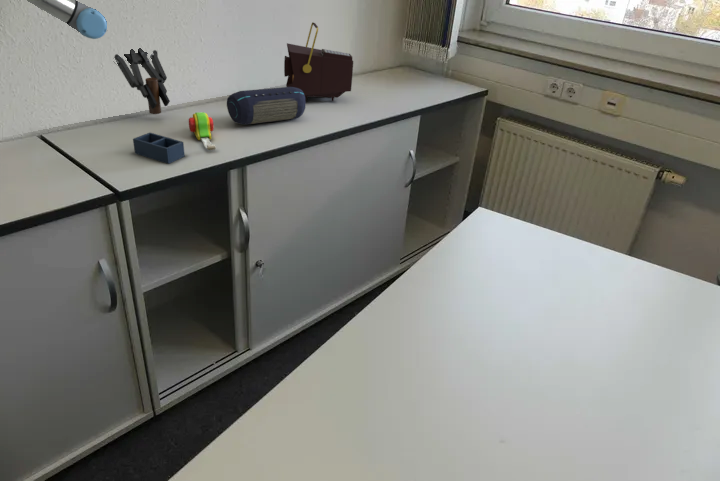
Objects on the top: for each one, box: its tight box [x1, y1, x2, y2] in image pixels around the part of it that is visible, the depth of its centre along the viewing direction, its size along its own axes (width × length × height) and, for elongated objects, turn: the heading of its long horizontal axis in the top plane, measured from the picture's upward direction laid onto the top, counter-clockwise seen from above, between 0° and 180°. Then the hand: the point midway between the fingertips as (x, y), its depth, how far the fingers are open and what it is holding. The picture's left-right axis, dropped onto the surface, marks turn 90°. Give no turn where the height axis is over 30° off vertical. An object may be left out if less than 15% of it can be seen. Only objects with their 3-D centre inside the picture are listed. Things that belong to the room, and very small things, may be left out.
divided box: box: [132, 132, 185, 165], centre depth 141 cm, size 6×11×4 cm, turn 64°
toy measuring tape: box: [188, 111, 217, 151], centre depth 152 cm, size 6×19×7 cm, turn 25°
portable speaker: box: [226, 86, 307, 125], centre depth 168 cm, size 25×10×10 cm, turn 126°
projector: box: [283, 21, 354, 102], centre depth 189 cm, size 16×23×25 cm
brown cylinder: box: [144, 77, 162, 115], centre depth 161 cm, size 3×3×10 cm
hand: (161, 104), depth 160 cm, fingers closed on brown cylinder, 3 cm apart
